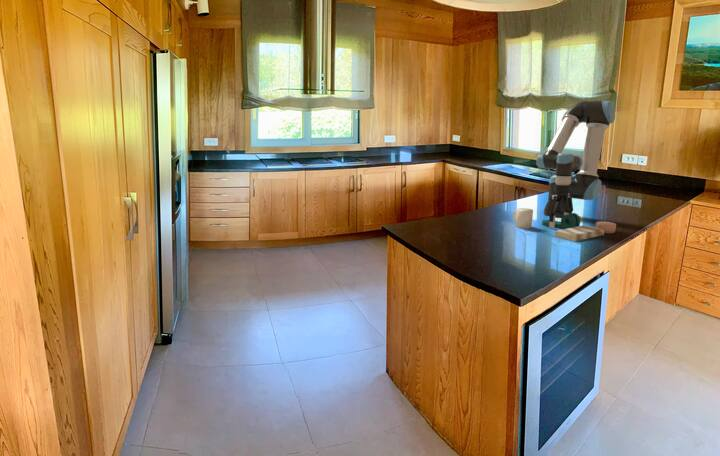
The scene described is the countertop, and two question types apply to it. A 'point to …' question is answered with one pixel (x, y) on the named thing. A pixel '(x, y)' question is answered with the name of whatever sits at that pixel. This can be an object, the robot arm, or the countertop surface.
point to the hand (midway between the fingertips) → (558, 226)
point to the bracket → (565, 221)
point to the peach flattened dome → (606, 226)
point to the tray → (579, 233)
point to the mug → (523, 218)
